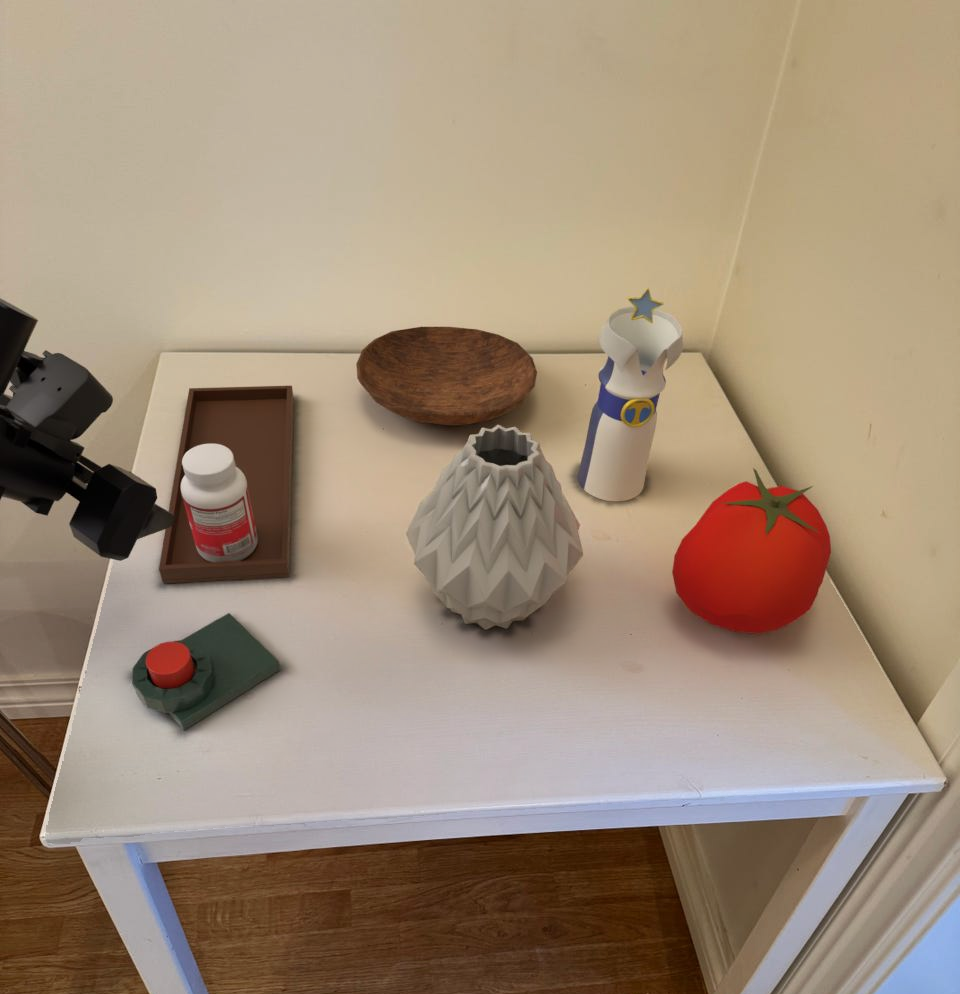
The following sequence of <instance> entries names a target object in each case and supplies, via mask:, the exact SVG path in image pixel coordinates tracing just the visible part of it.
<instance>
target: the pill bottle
mask: <svg viewBox="0 0 960 994" xmlns="http://www.w3.org/2000/svg"><path fill="white" fill-rule="evenodd" d="M182 465H183V469H184V472H185V476H184V477H183V479H182V482H181V493H182V498H183V501H184V505H185V508H186V512H187V516H188V519H189V523H190V526H191V530H192V534H193V538H194V541H195V545H196V548H197V551H198V553H199V554H200V555H201V556H202V557H203V558H204V559H206V560H207V561H210V562H212V563H214V562H233V561H241V560H243V559H245V558H246V557H248V556H249V555H250V554H251V553H252V552H253V551H254V549H255V548H256V546H257V541H258V538H257V531H256V526H255V521H254V516H253V511H252V506H251V501H250V496H249V491H248V486H247V481H246V478H245V476H244V474H243V473H242V471H241V470H240V469H239V468H237V467H236V464H235V461H234V456H233V453H232V452H231V450H230V449H228V448H227V447H225V446H223V445H220V444H202V445H198V446H196V447H194V448H192V449H190V450H189V451H188V452H186V453H185V455H184V456H183V459H182Z"/></svg>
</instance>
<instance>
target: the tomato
mask: <svg viewBox="0 0 960 994" xmlns="http://www.w3.org/2000/svg"><path fill="white" fill-rule="evenodd" d="M752 470H753V473H754V476H755V481H756V484H757V485H756V484H753V483H751V482H749V481H747V480H746V481H742V482H738V483H737V484H736V485H733V486H732V487H730V488H729V489H727V490H726V491H724V492H723V493H722V494H721V495H719V496H718V497H717V498H715V499H714V500H712V502H711V503H710V505H709V506H708V508H707V509H706V510H705V511H704V513H703V514H702V516H701V517H700V518H699V519H698V521H697V522H696V524H695V525H694V526H693V527H692V528H691V529H690V530H689V531H688V532H687V534H685V536H683V538H682V539H681V540H680V543H679V545H678V547H677V549H676V552H675V554H674V557H673V564H672V565H673V566H672V572H671V573H672V579H673V584H674V588H675V593H676V594H677V596H678V597H679V599H680V600H681V602H682V603H683V604H684V605H685V607H686V608H687V609H688V611H690V613H692V614H694V615H695V616H696V617H699V618H700V619H702V620H703V621H705V622H707V623H709V624H710V625H712V626H715V627H719V628H723V629H726V630H729V631H732V632H734V633H735V632H736V633H749V634H758V635H759V634H764V633H770V632H774V631H778V630H780V629H782V628H784V627H787V626H788V625H790V624H793V623H794V622H795V621H797V620H799V619H800V618H802V617H803V616H804V615H805V614H806V613H808V612H809V611H810V610H811V608H812V606H813V605H814V602H815V601H816V599H817V597H818V594H819V590H820V588H821V586H822V585H823V582H824V578H825V575H826V571H827V569H828V564H829V561H830V557H831V554H832V547H831V535H830V532H829V529H828V526H827V524H826V522H825V520H824V518H823V517H822V515H821V513H820V511H819V509H818V508H817V507H816V506H815V504H813V503H812V502H811V500H810V499H809V498H808V497H807V496H806V495H805V494H804V493H805V492H807V491H808V490H810V489H812V488H814V485H812V486H809V487H805V488H804V489H800V490H798V489H794V488H789V487H786V486H784V485H783V486H782V485H779V486H773V487H769V488H767V487H766V486H765V484H764V482H763V481H762V478H761V477H760V475H759V473H758V471H757V469H755V468H754V467H752Z"/></svg>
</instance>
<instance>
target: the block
mask: <svg viewBox="0 0 960 994" xmlns="http://www.w3.org/2000/svg"><path fill="white" fill-rule="evenodd" d="M171 642H179V643H182V644H184V645H185V646H186V647H187V648H188V649H189V651H190V655H191V658H192V661H193V664H194V668H195V671H194V674H193V677H192V678H191V679H190V680H189V681H188V682H187V683H186V684H184V685H182V686H180V687H178V688H172V689H164V688H161V687H158V686H157V685H156V684H154V682H153V681H152V678H151V676H150V673H149V671H148V668H147V665H146V657H147V655H148V653H149V652H150V650H152V649H153V648H154V647H152V648H150V649H148V650H146V651H145V652H143V653H142V654H141V656H140V657H139V658H138V660H137V662H136V663H135V664H134V666H133V667H132V686H133V688H134V691H135V693H136V696H137V697H138V699H139V700H140V701H141V703H142V704H144V706H145V707H146V708H147V709H149V710H153V711H157V712H159V713H165V714H169V716H170V717H171V718H172V719H173V721H175V722H176V723H177V725H178V726H179V727H180V728H181V729H182V730H183V731H185V730H187V729H188V728H190V727H192V726H193V725H195V724H196V723H198V722H200V721H201V720H203V719H204V718H206V717H207V716H209V715H210V714H212V713H214V712H216V711H218V710H219V709H220V708H222V707H224V706H225V705H226V704H228V703H230V702H231V701H233V700H234V699H236V698H238V697H239V696H241V695H242V694H244V693H246V692H247V691H248V690H250V689H252V688H253V687H255V686H257V685H258V684H261V682H263V681H265V680H266V679H268V678H269V677H271V676H272V675H274V674H276V673H278V672H279V671H280V670H281V664H280V661H279V660H278V659H277V658H276V657H275V656H274V655H273V654H272V653H271V652H270V651H269V650H268V649H267V648H266V647H265V646H264V645H263V644H262V643H261V642H260V641H259V640H258V639H256V637H254V635H253V634H251V632H249V631H248V630H247V629H246V628H245V627H244V626H243V625H242V624H241V623H240V622H239V621H238V620H237V619H236V618H235V617H234V616H233V615H232V614H231V613H230V612H228V613H226V614H224V615H222V616H221V617H219V618H217V619H216V620H214V621H212V622H210V623H209V624H207V625H205V626H203V627H202V628H200V629H198V630H197V631H195V632H193V633H191V634H189V635H187V636H186V637H184V638H182V639H180V640H173V641H171Z"/></svg>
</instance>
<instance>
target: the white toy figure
mask: <svg viewBox="0 0 960 994" xmlns="http://www.w3.org/2000/svg"><path fill="white" fill-rule="evenodd" d="M627 300H628V301H629V303H630V304H631V305H632V306H626V307H622V308H619V309H617V310H615V311H614V312H612V313H611V314H610V315H609V317H608V319H607V321H606V322H605V323H604V324H603V326H602V328H601V329H600V331H599V335H598V341H599V345H600V348H601V350H602V351H603V353H604V354H606V356H607V360H606V362H605V363H604V365H603V366H602V367H601V368H600V369H599V371H598V374H597V376H598V380H599V382H600V385H599V390H598V391H599V392H598V396H597V400H596V401H595V403H594V405H593V407H592V410H591V412H590V417H589V423H588V427H587V433H586V438H585V443H584V446H583V447H584V448H583V451H582V455H581V460H580V464H579V468H578V472H577V481H578V484H579V486H580V487H581V488H582V490H584V491H585V492H586V493H587V494H588V495H590V496H592V497H594V498H597V499H600V500H602V501H608V502H624V501H629V500H632V499H634V498H636V497H637V496H639V495H640V494H641V493H642V492H643V490H644V486H645V481H646V475H647V469H648V464H649V459H650V455H651V451H652V445H653V441H654V436H655V433H656V427H657V421H658V414H657V407H658V403H659V398H660V395H661V393H662V392H663V391H664V390H665V388H666V385H667V381H666V378H665V375H664V371H667V370H668V369H669V368H670V367H672V366H673V365H674V364H675V363H676V362H677V361H678V360H679V358H680V357H681V355H682V353H683V349H684V338H683V329H682V327H681V325H680V323H679V321H678V320H677V319H676V318H675V317H674V316H673V315H671V314H670V313H668V312H666V311H663V310H661V309H658V308H660V307H662V306H663V305H665V303H664V302H663V301H659V300H657V299H653V298H652V295H651V291H650V288H649V287H646V289H645V291H644V292H643V293H642V294H641V295H640V296H639V297H636V296H629V297H627ZM665 363H666V366H665ZM664 366H665V369H664Z"/></svg>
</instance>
